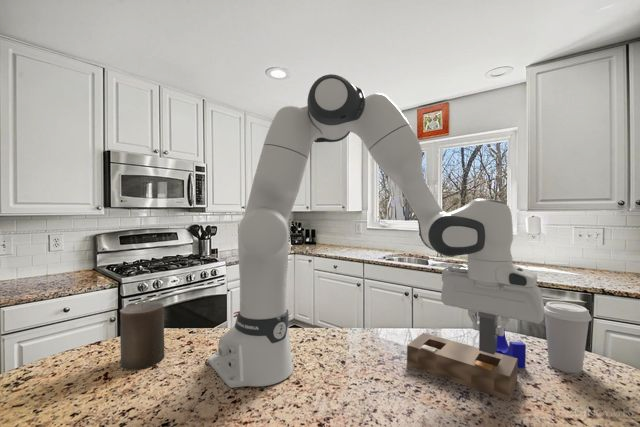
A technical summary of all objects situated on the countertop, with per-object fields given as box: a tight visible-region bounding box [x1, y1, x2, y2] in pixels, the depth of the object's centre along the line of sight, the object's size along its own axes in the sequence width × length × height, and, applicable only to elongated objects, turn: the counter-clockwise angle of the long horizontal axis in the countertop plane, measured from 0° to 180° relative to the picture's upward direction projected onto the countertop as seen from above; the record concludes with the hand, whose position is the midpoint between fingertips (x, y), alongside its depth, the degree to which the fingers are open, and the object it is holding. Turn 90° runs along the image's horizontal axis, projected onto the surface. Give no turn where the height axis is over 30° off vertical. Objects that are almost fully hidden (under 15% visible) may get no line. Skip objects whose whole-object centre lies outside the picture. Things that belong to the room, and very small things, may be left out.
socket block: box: [406, 332, 519, 402], centre depth 73 cm, size 22×10×5 cm, turn 50°
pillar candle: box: [119, 301, 165, 371], centre depth 78 cm, size 10×10×15 cm
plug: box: [477, 311, 499, 355], centre depth 69 cm, size 3×3×9 cm
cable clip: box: [496, 327, 527, 369], centre depth 82 cm, size 12×4×6 cm, turn 174°
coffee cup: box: [544, 301, 593, 374], centre depth 76 cm, size 10×10×15 cm
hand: (488, 332), depth 69 cm, fingers closed on plug, 3 cm apart
